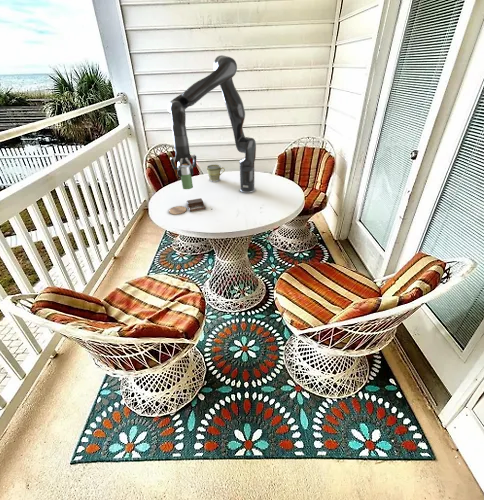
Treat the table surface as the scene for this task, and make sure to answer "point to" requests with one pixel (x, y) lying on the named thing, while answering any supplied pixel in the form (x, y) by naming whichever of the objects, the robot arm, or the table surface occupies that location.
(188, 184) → the green can
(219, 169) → the ceramic cup
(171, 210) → the cork coaster
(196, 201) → the walnut rest
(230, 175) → the table surface
